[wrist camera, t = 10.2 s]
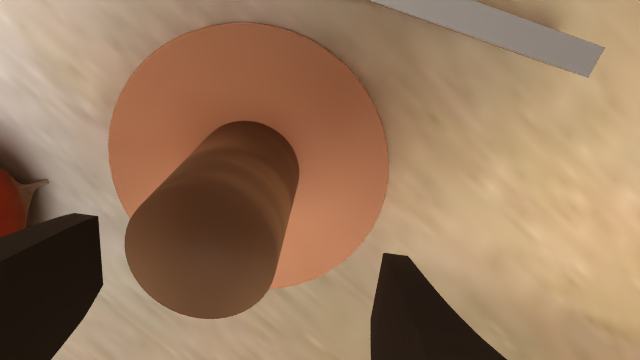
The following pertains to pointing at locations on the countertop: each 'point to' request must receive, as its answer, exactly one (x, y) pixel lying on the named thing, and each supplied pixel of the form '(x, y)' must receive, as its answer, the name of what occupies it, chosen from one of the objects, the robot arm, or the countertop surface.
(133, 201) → the saucer
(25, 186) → the fruit
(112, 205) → the countertop surface
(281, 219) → the walnut cylinder
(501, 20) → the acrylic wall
